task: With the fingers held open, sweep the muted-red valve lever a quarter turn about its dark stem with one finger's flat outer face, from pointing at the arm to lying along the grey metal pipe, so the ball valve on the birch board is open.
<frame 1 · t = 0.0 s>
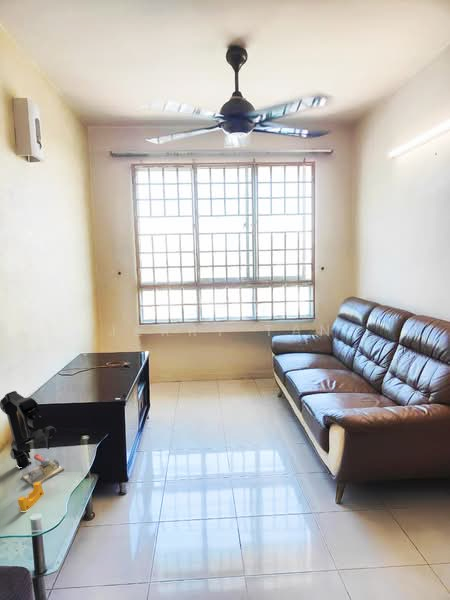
hand: (39, 453, 187), 15 cm above the table, fingers open, 9 cm apart
valve body: (48, 473, 195), resting on board
lever: (48, 473, 195), resting on valve body, hinge at 0.0°
board: (43, 473, 196), on the table
pipe clamp: (31, 503, 173), on the table
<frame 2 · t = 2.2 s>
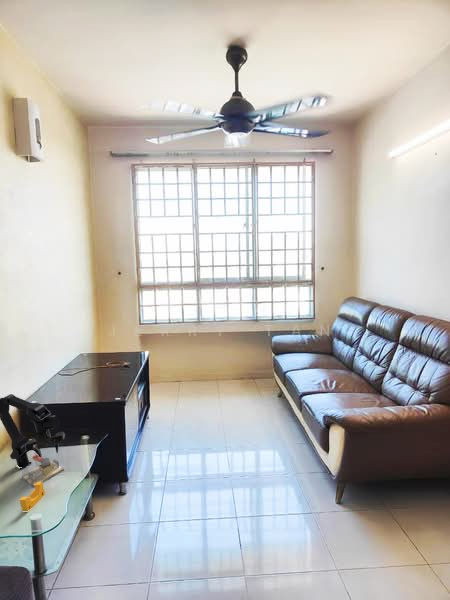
hand: (49, 455, 202), 6 cm above the table, fingers open, 8 cm apart
lever: (48, 473, 195), resting on valve body, hinge at 3.7°, touching gripper
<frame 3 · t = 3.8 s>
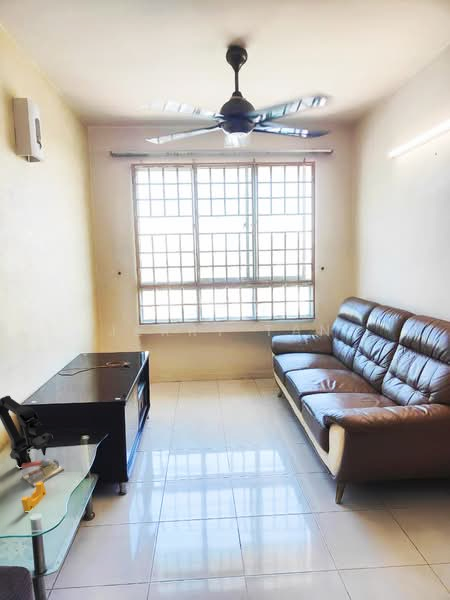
hand: (37, 459, 199), 6 cm above the table, fingers open, 7 cm apart
lever: (48, 473, 195), resting on valve body, hinge at 43.2°, touching gripper
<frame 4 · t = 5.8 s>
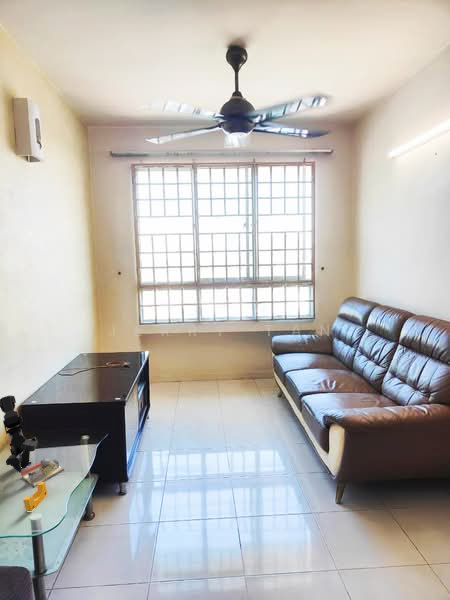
hand: (24, 466, 194), 6 cm above the table, fingers open, 9 cm apart
lever: (48, 473, 195), resting on valve body, hinge at 83.1°
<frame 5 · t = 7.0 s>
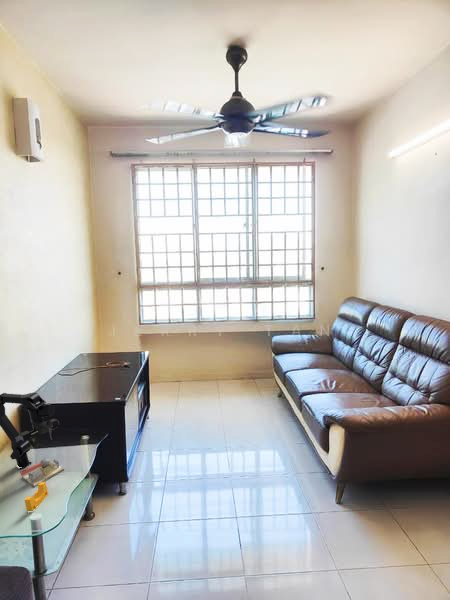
hand: (43, 444, 202), 12 cm above the table, fingers open, 9 cm apart
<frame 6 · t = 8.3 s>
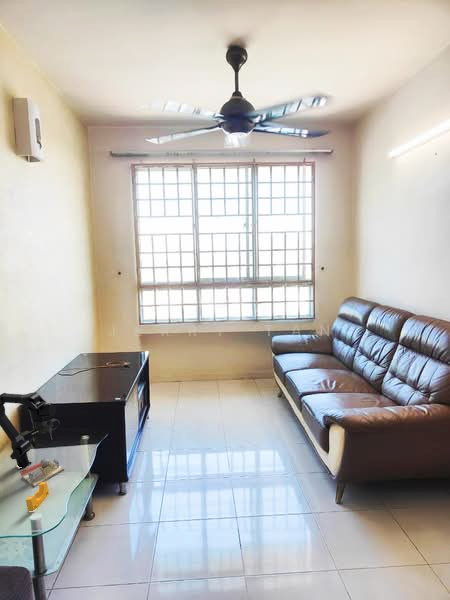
hand: (43, 443, 203), 12 cm above the table, fingers open, 9 cm apart
at the end: lever at +83° (first picture: +0°) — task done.
